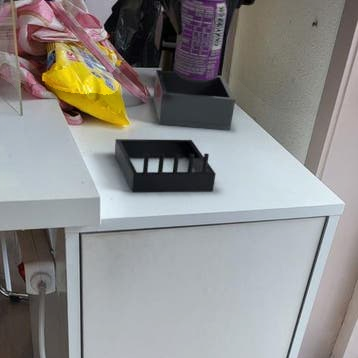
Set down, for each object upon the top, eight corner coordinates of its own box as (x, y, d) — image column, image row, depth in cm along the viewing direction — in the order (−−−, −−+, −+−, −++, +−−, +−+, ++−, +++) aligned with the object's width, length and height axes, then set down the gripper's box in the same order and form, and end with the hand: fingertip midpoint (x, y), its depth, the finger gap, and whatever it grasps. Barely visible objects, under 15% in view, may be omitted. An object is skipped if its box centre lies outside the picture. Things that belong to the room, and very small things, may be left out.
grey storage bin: (153, 99, 112) (155, 69, 109) (218, 105, 114) (223, 76, 110) (159, 124, 103) (162, 93, 100) (230, 130, 105) (235, 99, 102)
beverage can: (212, 71, 108) (224, -11, 100) (220, 86, 103) (233, 1, 94) (170, 68, 106) (179, -16, 98) (175, 83, 101) (185, -5, 93)
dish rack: (114, 156, 92) (116, 120, 89) (189, 156, 95) (193, 122, 92) (132, 192, 84) (134, 154, 81) (213, 191, 87) (218, 155, 84)
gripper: (147, -115, 90) (151, -4, 89) (274, -98, 94) (279, 9, 93) (135, -58, 101) (139, 41, 100) (250, -45, 104) (254, 51, 104)
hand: (202, 35), depth 99 cm, fingers closed on beverage can, 7 cm apart
